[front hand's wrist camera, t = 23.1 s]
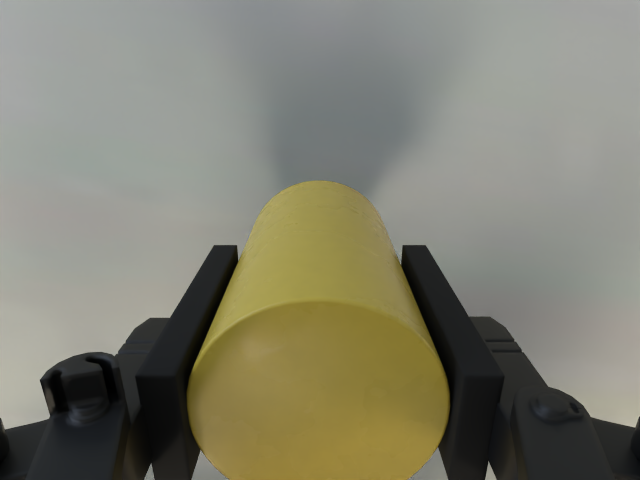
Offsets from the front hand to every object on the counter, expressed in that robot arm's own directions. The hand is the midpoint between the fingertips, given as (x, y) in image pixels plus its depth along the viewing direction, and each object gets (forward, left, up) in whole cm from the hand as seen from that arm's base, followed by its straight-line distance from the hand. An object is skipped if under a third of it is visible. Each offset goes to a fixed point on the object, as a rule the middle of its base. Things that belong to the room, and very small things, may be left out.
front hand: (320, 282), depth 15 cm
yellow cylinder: (0, 0, -3) cm, 3 cm away
